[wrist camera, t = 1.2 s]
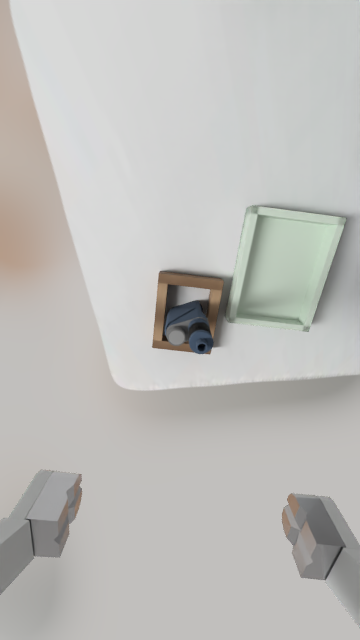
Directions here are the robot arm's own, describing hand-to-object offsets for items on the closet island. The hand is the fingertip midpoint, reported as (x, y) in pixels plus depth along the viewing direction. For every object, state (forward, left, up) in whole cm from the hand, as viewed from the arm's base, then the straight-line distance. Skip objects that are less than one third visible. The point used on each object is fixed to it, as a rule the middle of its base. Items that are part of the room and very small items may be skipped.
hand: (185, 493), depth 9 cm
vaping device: (+1, 0, -25) cm, 25 cm away
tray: (-6, +11, -25) cm, 28 cm away
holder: (+1, 0, -25) cm, 25 cm away
